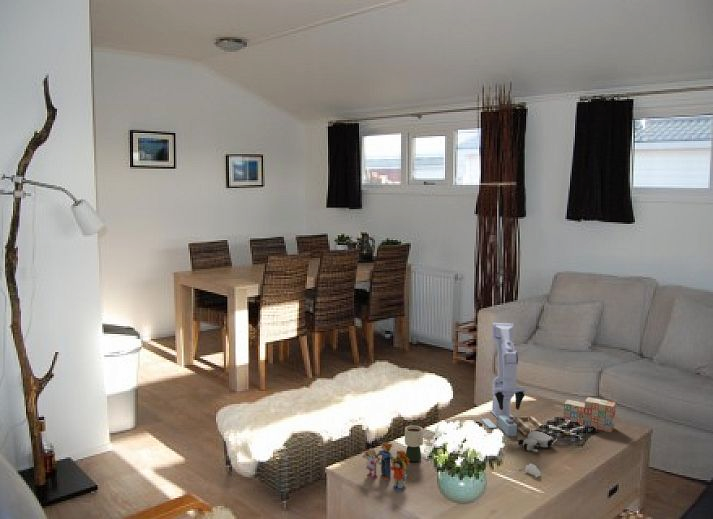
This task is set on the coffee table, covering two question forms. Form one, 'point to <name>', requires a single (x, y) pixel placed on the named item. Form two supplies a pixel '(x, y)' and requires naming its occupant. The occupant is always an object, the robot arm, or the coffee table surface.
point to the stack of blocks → (591, 413)
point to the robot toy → (536, 441)
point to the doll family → (388, 465)
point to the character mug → (413, 442)
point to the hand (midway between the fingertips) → (509, 409)
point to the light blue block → (507, 425)
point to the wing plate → (488, 423)
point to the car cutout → (530, 470)
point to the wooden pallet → (526, 424)
